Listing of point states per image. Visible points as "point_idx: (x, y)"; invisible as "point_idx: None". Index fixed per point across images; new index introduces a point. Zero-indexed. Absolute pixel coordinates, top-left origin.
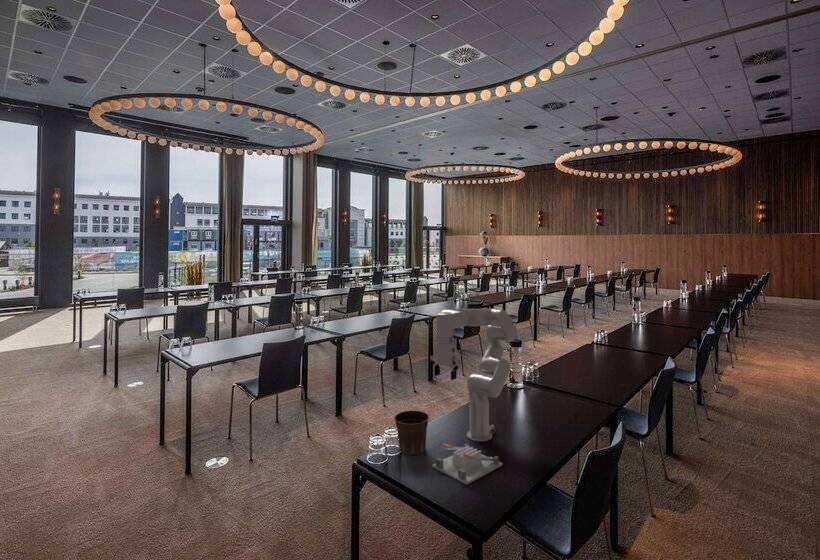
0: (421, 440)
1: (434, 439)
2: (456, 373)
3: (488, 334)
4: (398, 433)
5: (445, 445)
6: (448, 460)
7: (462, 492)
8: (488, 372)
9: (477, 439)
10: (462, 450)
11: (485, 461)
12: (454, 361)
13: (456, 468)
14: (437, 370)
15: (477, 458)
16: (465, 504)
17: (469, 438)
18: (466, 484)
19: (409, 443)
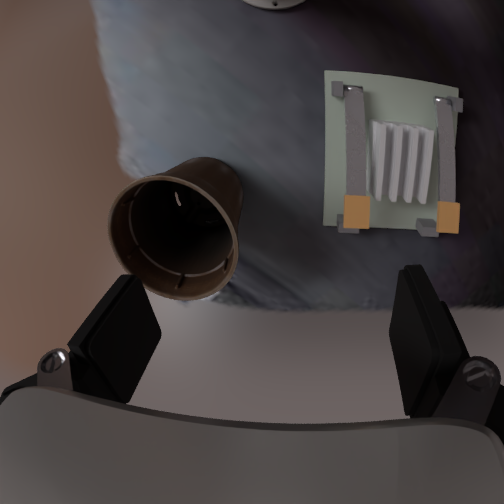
0: (239, 211)
1: (188, 96)
2: (459, 333)
3: None
4: (178, 260)
5: (363, 227)
6: (340, 176)
7: (444, 256)
8: None
9: (300, 1)
10: (383, 160)
11: (422, 108)
12: (422, 486)
13: (387, 196)
14: (130, 354)
15: (455, 187)
16: (464, 280)
17: (268, 9)
18: None
19: (224, 242)
